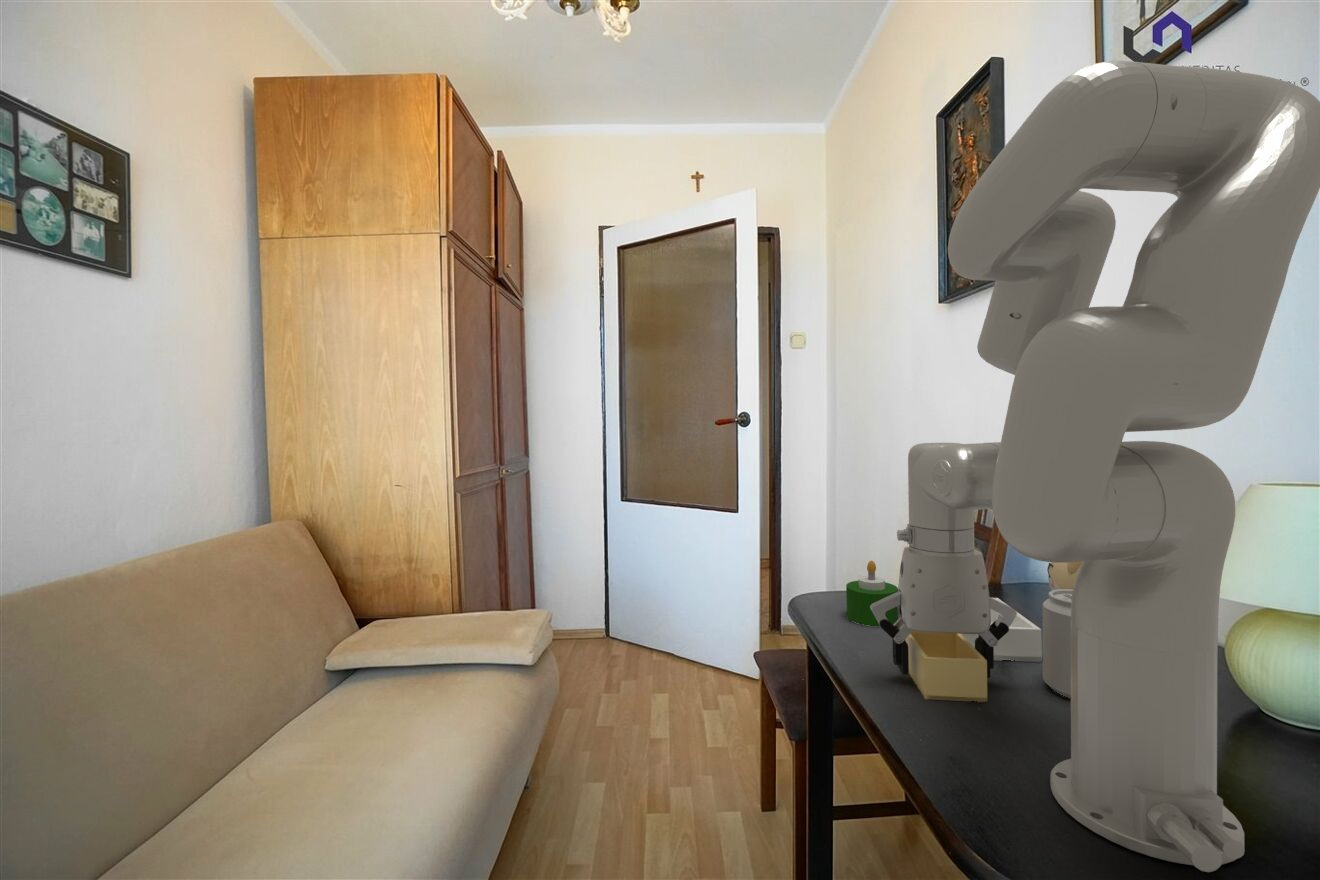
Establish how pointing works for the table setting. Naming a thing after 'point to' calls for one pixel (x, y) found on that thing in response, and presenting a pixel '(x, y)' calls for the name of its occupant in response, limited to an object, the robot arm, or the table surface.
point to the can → (1057, 641)
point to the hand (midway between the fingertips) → (942, 671)
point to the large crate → (1015, 640)
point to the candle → (868, 597)
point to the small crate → (947, 667)
